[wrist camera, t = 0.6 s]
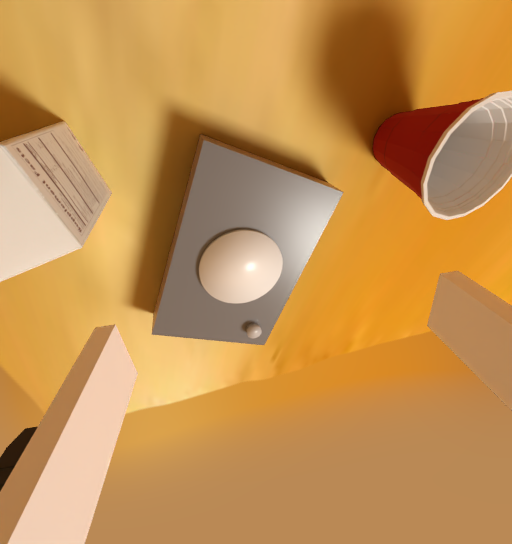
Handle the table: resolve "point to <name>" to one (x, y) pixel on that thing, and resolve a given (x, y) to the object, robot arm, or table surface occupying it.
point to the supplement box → (46, 198)
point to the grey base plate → (239, 245)
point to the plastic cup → (450, 152)
